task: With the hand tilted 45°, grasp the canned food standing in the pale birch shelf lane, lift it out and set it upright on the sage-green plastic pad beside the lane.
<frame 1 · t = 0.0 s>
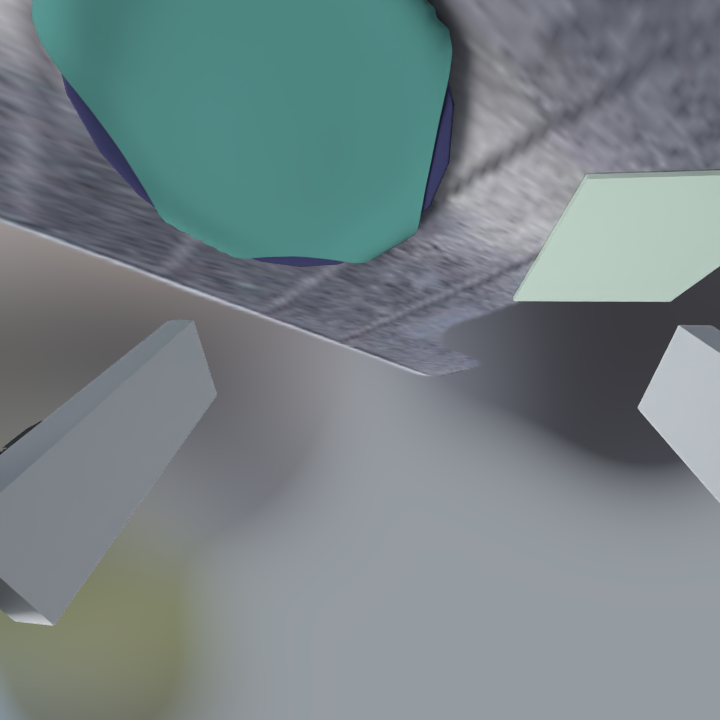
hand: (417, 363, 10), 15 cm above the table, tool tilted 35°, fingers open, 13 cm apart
cutlery set: (254, 23, 16), on the table
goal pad: (636, 249, 27), on the table
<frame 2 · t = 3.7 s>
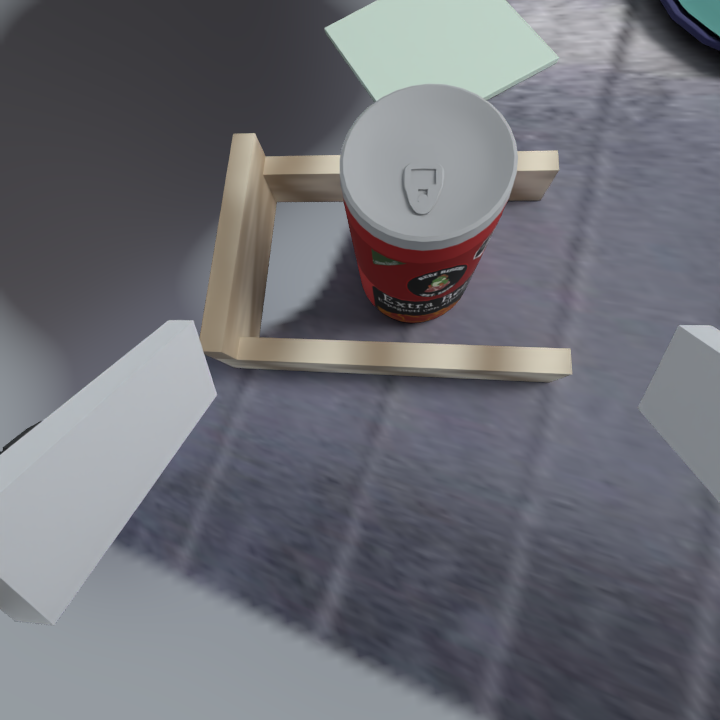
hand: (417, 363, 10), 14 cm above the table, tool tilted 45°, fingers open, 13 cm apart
shelf lane: (400, 273, 26), on the table
canned food: (413, 275, 26), resting in shelf lane
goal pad: (435, 47, 30), on the table
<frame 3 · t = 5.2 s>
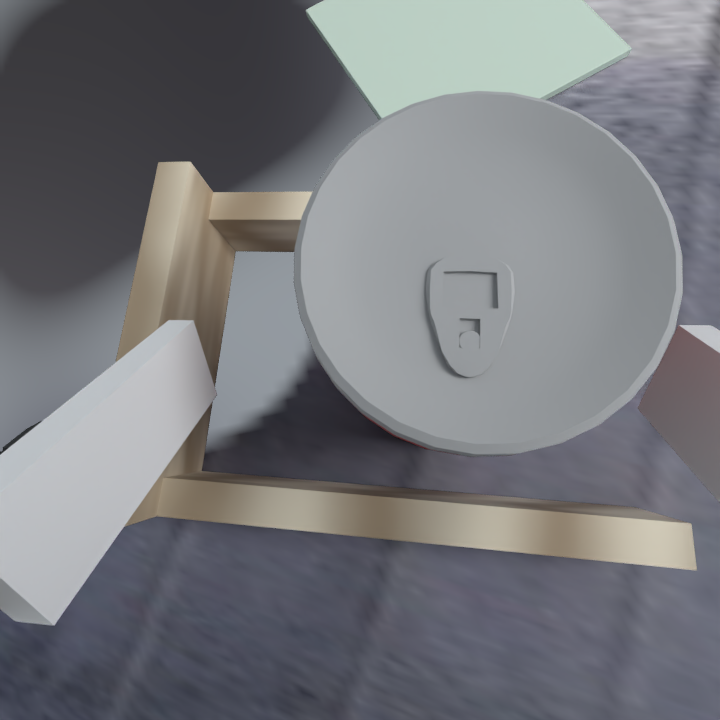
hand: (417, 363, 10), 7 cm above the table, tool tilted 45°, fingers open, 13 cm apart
shelf lane: (409, 362, 18), on the table
canned food: (427, 364, 18), resting in shelf lane
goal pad: (456, 35, 22), on the table
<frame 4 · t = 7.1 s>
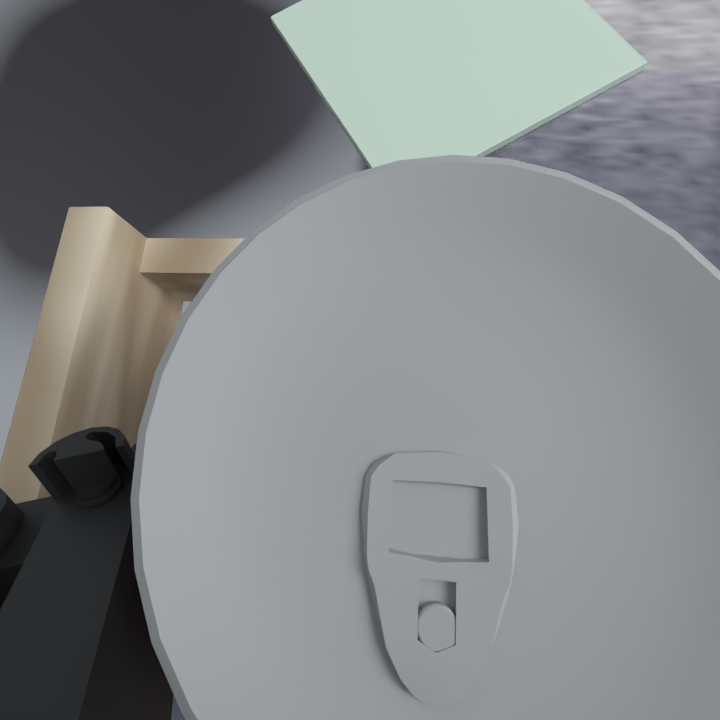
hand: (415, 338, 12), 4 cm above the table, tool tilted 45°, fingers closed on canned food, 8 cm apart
shelf lane: (386, 442, 15), on the table
canned food: (408, 444, 15), resting in shelf lane, touching gripper
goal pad: (443, 46, 19), on the table
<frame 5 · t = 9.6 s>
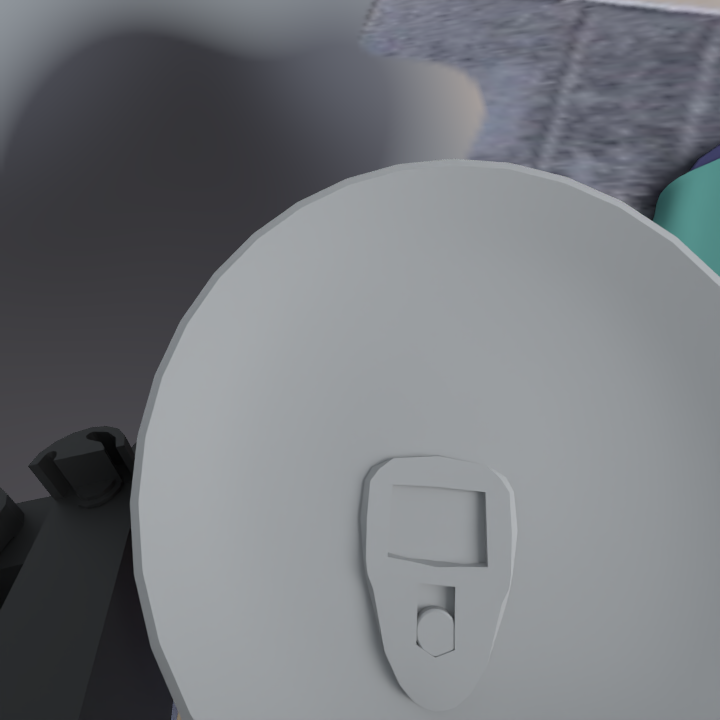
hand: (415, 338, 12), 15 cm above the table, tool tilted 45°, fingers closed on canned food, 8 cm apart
canned food: (408, 445, 15), point 12 cm above the table, touching gripper
when the fingers open (5 cm above the table, at t = 12.1 s): canned food drops 1 cm, resting on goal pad.
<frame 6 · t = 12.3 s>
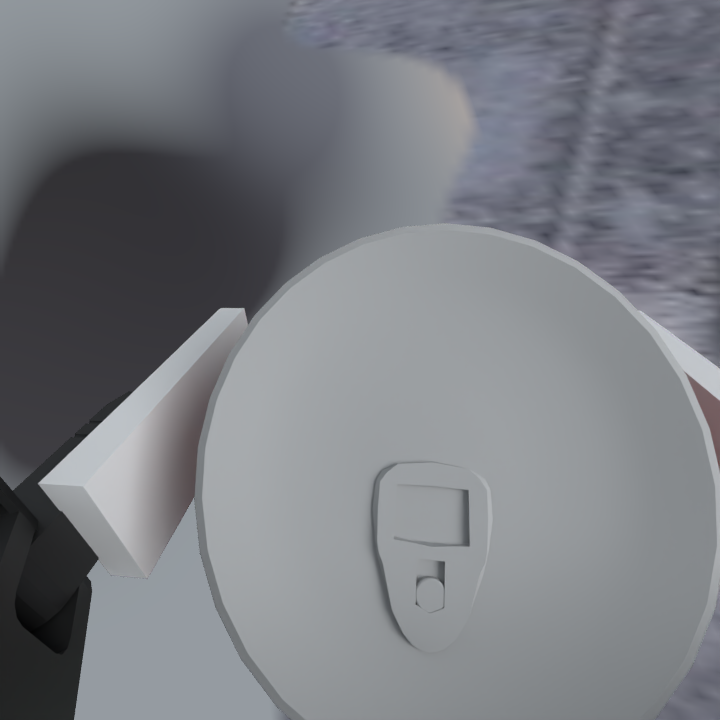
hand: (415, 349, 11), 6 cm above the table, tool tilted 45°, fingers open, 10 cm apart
canned food: (408, 445, 16), resting on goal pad
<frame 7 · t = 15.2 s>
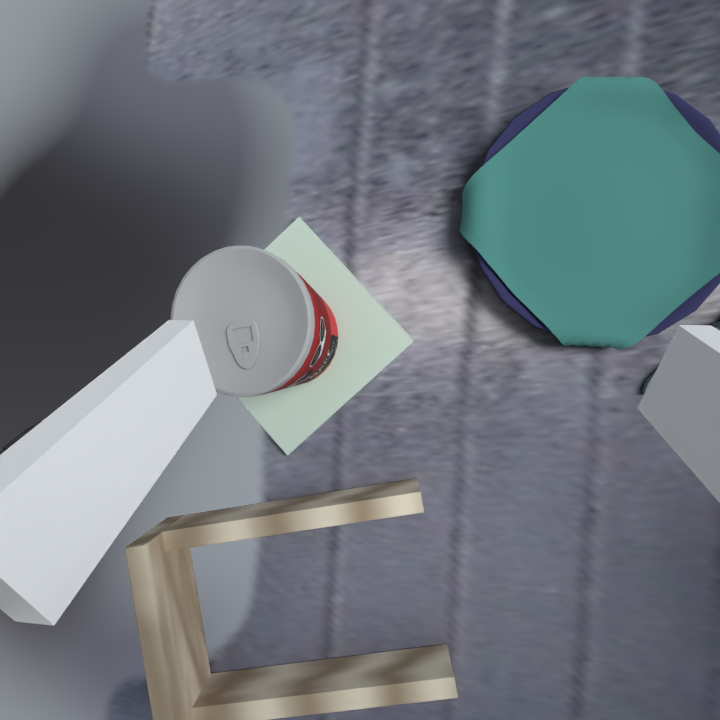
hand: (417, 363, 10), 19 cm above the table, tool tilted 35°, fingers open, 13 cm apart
cutlery set: (631, 269, 28), on the table
shelf lane: (313, 586, 29), on the table
canned food: (294, 336, 29), resting on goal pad
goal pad: (294, 336, 30), on the table
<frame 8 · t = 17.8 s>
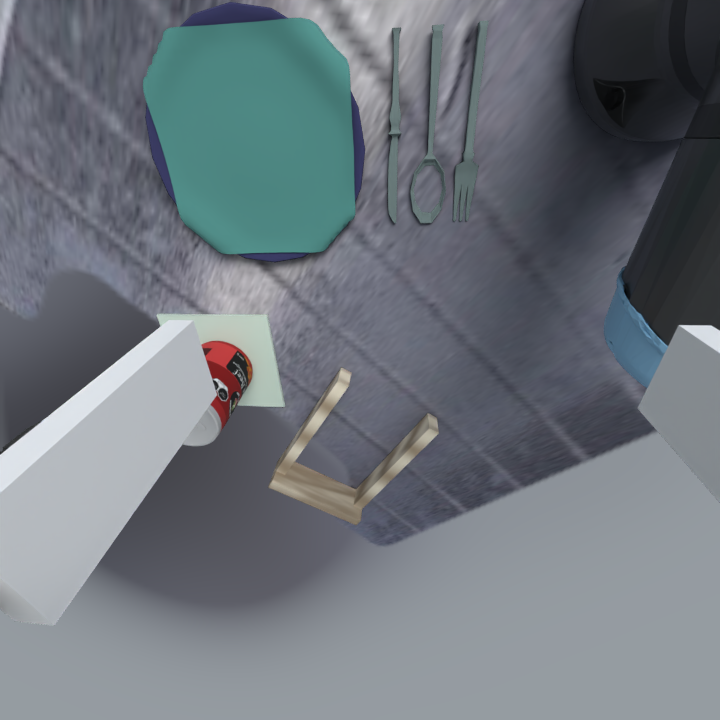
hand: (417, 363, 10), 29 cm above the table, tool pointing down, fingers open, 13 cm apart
cutlery set: (315, 151, 33), on the table
shelf lane: (353, 438, 52), on the table
canned food: (225, 363, 47), resting on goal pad
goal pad: (225, 362, 47), on the table
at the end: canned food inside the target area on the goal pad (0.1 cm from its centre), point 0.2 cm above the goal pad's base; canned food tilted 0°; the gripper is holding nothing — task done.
